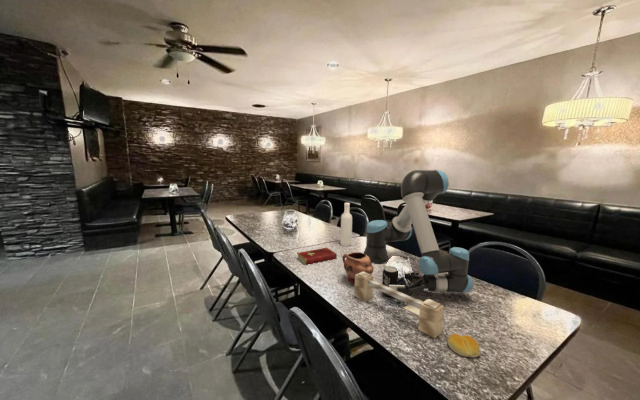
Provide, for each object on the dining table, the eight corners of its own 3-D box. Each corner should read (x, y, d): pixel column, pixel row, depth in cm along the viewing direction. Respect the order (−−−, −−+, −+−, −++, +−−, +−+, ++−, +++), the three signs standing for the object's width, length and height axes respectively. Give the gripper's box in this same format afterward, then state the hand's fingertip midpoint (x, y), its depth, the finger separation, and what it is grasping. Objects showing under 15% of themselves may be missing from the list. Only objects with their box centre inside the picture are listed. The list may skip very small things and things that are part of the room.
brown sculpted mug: (333, 277, 131) (333, 251, 129) (348, 271, 139) (349, 246, 137) (364, 292, 117) (365, 263, 115) (379, 284, 125) (381, 257, 123)
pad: (403, 308, 105) (403, 307, 105) (417, 299, 112) (417, 298, 112) (430, 321, 97) (430, 320, 97) (442, 310, 104) (442, 309, 104)
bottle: (340, 242, 187) (341, 201, 182) (351, 242, 186) (352, 202, 182) (340, 246, 179) (341, 203, 174) (351, 246, 179) (353, 204, 174)
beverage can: (397, 298, 112) (399, 272, 110) (382, 296, 114) (383, 271, 112) (396, 291, 119) (397, 266, 117) (381, 289, 120) (382, 265, 118)
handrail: (354, 296, 114) (355, 273, 112) (361, 292, 117) (362, 270, 115) (434, 338, 87) (437, 309, 86) (441, 332, 91) (443, 304, 89)
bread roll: (445, 338, 88) (446, 327, 87) (474, 343, 86) (475, 332, 85) (450, 355, 80) (452, 344, 79) (483, 361, 78) (484, 349, 77)
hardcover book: (336, 259, 156) (336, 253, 155) (305, 266, 146) (305, 259, 145) (326, 253, 166) (326, 247, 166) (296, 259, 156) (296, 252, 156)
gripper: (445, 306, 102) (391, 303, 103) (423, 277, 127) (380, 276, 128) (446, 288, 101) (392, 286, 102) (424, 263, 125) (381, 261, 127)
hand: (385, 280), depth 115 cm, fingers open, 13 cm apart
